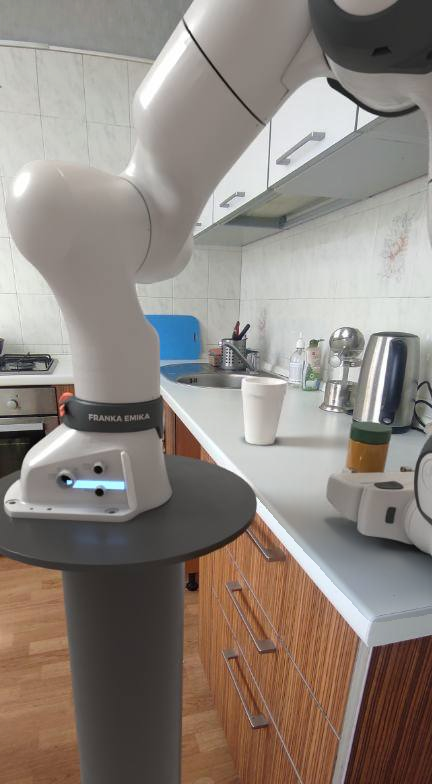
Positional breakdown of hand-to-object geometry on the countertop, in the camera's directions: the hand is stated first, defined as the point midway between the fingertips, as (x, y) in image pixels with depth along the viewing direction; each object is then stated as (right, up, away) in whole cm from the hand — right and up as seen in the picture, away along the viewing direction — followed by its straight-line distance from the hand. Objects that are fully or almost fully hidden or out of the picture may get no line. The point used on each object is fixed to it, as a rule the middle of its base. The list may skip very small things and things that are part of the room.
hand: (375, 471), depth 71 cm
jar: (-1, -3, +5) cm, 6 cm away
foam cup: (-15, +7, +31) cm, 35 cm away
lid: (0, +7, +1) cm, 7 cm away
